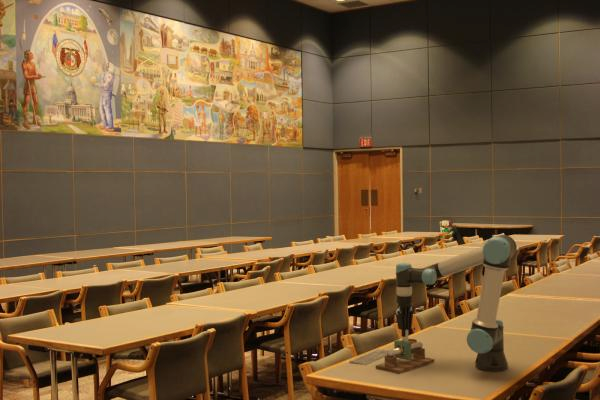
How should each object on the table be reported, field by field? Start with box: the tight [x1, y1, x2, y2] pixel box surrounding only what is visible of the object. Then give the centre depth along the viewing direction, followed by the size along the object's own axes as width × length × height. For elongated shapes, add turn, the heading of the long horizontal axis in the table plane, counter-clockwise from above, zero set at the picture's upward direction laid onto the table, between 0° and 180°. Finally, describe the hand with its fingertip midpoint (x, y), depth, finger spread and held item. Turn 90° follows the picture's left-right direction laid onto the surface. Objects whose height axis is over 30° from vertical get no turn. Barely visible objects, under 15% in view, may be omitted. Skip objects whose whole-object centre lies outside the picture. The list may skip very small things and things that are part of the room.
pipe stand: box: [375, 347, 435, 375], centre depth 338 cm, size 28×14×6 cm, turn 133°
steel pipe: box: [387, 341, 423, 357], centre depth 338 cm, size 24×3×3 cm, turn 133°
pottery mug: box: [408, 338, 418, 355], centre depth 364 cm, size 12×10×8 cm
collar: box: [393, 339, 412, 360], centre depth 336 cm, size 3×8×8 cm, turn 43°
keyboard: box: [349, 348, 388, 366], centre depth 355 cm, size 29×10×2 cm, turn 145°
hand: (405, 342), depth 338 cm, fingers closed
